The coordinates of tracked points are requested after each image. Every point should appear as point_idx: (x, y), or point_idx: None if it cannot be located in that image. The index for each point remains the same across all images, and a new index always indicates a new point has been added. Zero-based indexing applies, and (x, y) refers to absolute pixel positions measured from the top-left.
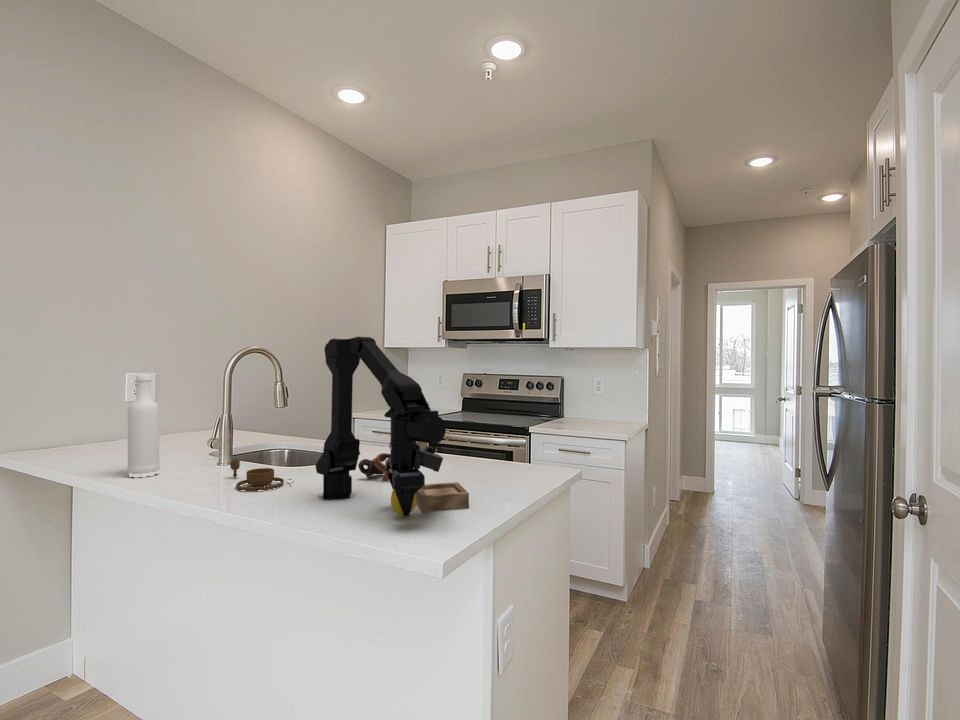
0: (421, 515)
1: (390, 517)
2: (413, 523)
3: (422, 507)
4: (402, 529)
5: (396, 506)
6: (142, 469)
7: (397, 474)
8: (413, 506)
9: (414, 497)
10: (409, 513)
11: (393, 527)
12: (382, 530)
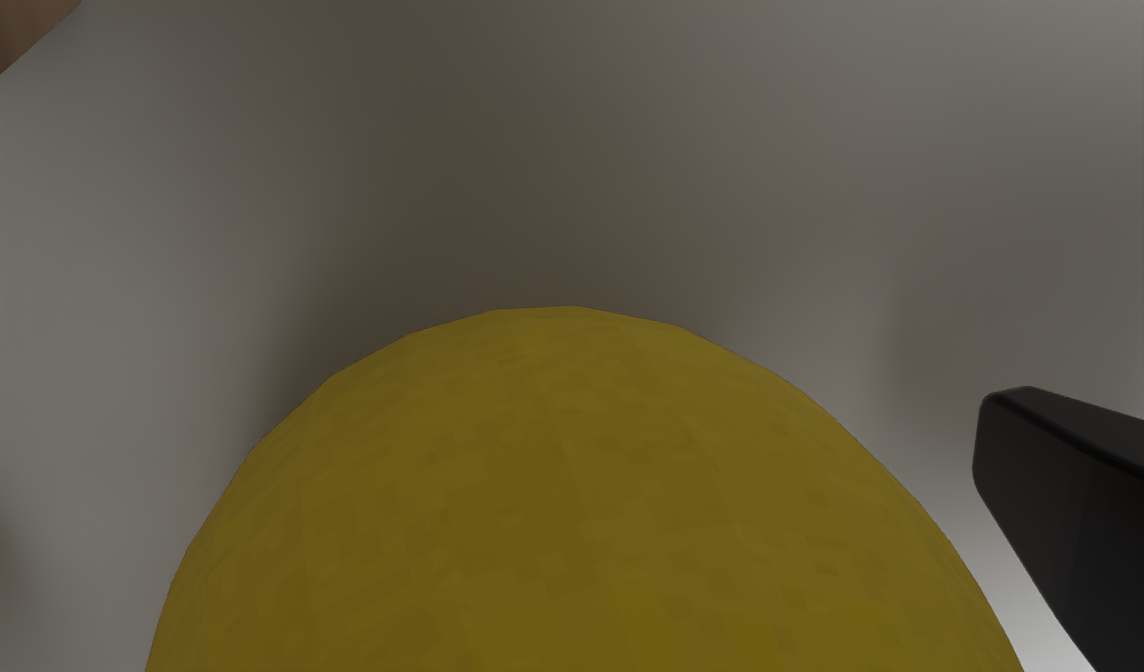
0: (372, 29)
1: None
2: (905, 225)
3: (51, 12)
4: (1128, 397)
5: None
6: None
7: None
8: (766, 370)
9: (882, 504)
10: (1085, 410)
11: (980, 536)
12: (1042, 653)
